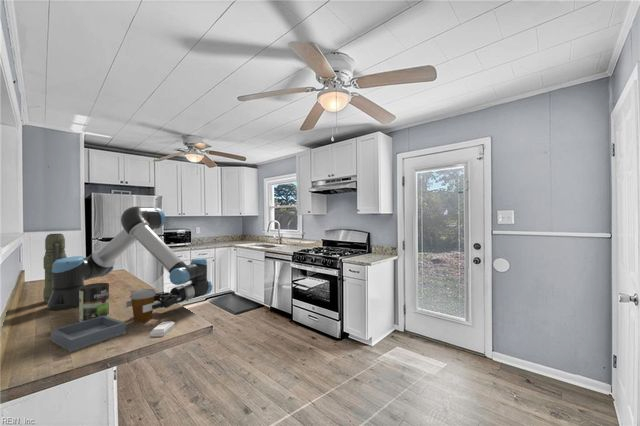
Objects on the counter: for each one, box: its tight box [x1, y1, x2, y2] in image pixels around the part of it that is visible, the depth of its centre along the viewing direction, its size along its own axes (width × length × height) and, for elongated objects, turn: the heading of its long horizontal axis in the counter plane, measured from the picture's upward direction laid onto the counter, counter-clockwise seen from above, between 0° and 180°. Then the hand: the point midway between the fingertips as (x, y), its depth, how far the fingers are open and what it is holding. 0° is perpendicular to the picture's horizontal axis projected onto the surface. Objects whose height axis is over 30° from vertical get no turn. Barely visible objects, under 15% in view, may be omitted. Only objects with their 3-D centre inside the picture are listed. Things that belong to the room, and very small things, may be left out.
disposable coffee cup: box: [129, 288, 157, 323], centre depth 119 cm, size 10×10×12 cm
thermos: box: [42, 233, 68, 304], centre depth 147 cm, size 9×12×35 cm
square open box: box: [50, 316, 127, 352], centre depth 103 cm, size 16×16×4 cm
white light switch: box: [149, 321, 176, 337], centre depth 107 cm, size 5×9×3 cm, turn 4°
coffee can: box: [78, 282, 110, 322], centre depth 122 cm, size 10×10×14 cm
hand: (134, 306), depth 116 cm, fingers open, 12 cm apart
